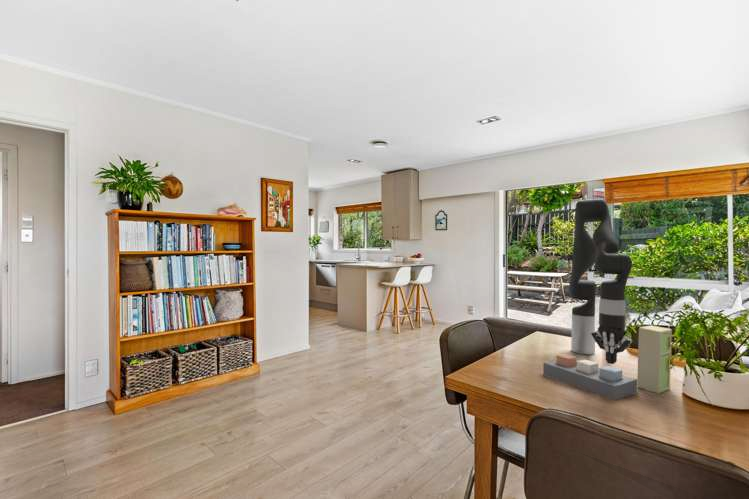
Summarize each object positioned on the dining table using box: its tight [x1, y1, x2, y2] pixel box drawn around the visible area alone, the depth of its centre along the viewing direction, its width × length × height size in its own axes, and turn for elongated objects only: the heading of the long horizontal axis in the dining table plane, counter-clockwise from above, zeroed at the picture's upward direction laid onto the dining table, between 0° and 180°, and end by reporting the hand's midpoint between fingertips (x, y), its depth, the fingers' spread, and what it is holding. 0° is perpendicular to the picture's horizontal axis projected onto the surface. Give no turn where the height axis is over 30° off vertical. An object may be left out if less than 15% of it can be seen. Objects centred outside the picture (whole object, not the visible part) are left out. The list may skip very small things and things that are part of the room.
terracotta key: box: [556, 353, 578, 367], centre depth 139 cm, size 5×5×4 cm
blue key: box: [599, 365, 623, 382], centre depth 125 cm, size 5×5×4 cm
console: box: [542, 359, 638, 401], centre depth 133 cm, size 13×26×4 cm, turn 29°
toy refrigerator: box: [636, 325, 673, 394], centre depth 128 cm, size 8×7×21 cm
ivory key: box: [577, 359, 599, 374], centre depth 132 cm, size 5×5×4 cm
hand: (610, 363), depth 125 cm, fingers closed
